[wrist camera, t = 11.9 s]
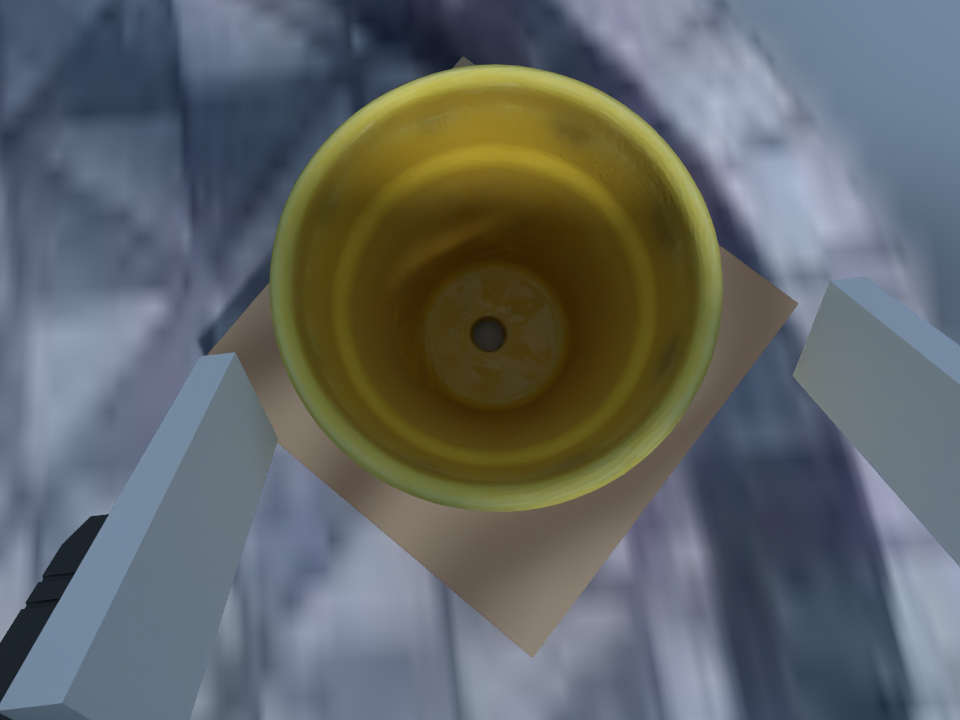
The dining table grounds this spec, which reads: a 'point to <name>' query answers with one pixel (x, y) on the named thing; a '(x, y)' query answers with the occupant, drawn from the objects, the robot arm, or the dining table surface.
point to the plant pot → (496, 288)
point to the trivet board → (518, 534)
